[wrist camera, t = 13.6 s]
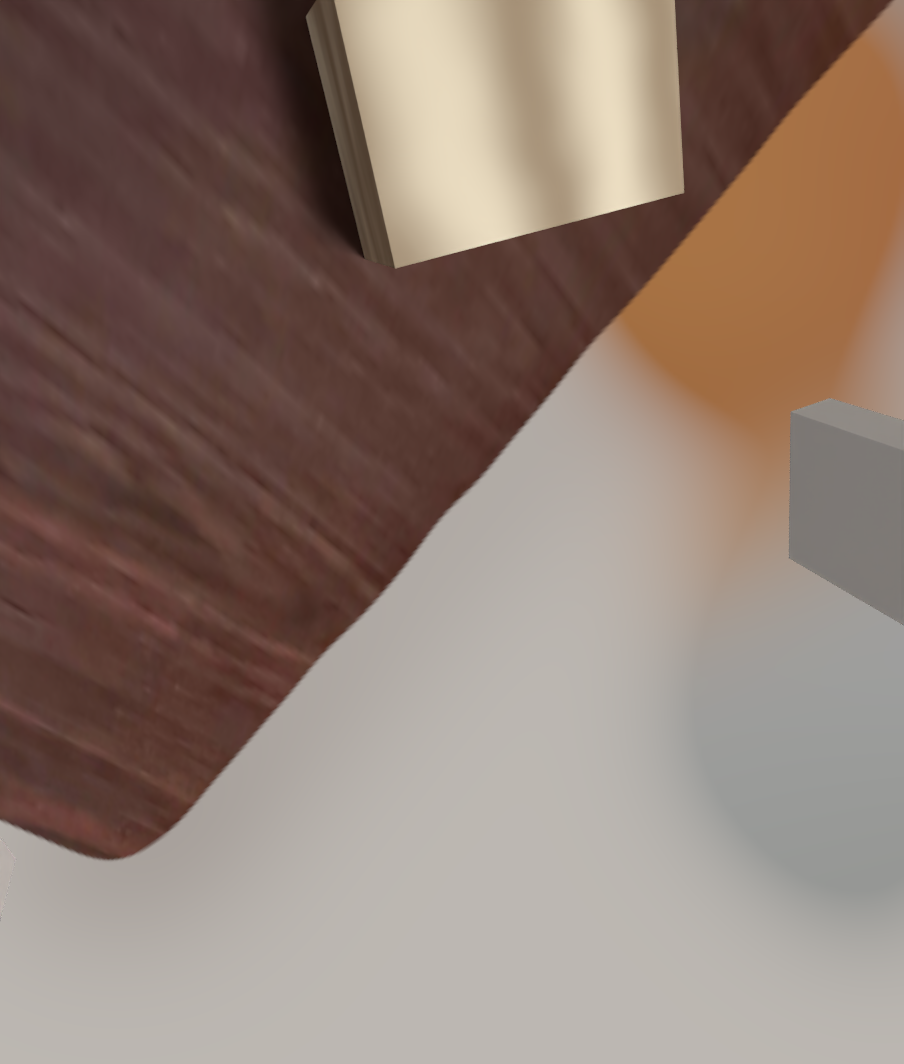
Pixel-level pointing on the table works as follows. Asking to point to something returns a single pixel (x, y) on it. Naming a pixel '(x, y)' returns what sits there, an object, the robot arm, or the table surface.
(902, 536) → the robot arm
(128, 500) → the table surface
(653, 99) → the beech step
